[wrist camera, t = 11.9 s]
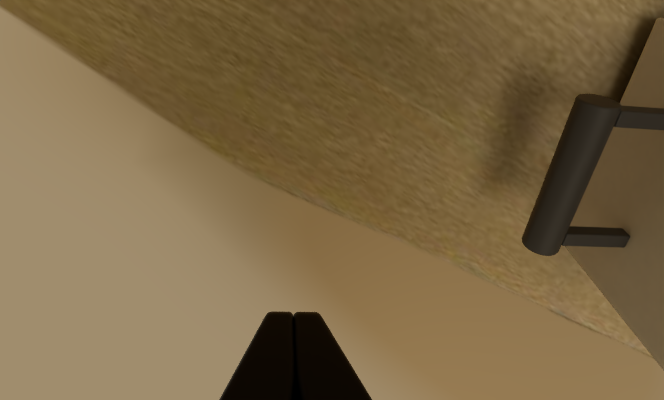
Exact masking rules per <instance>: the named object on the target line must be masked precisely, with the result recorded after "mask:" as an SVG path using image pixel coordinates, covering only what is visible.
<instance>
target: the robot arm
mask: <svg viewBox="0 0 664 400" xmlns="http://www.w3.org/2000/svg"><path fill="white" fill-rule="evenodd" d="M220 400H372V399H371V397H370V396H369V394H368V393H367V391H366V389H365V387H364V386H363V384H362V383H361V381H360V379H359V378H358V376H357V374H356V373H355V371H354V369H353V368H352V366H351V364H350V363H349V361H348V359H347V358H346V356H345V354H344V353H343V351H342V350H341V348H340V346H339V345H338V343H337V341H336V340H335V338H334V336H333V335H332V333H331V331H330V330H329V328H328V326H327V325H326V323H325V322H324V320H323V318H322V317H321V315H320V314H319V313H317V312H296V313H295V314H294V316H293V314H292V313H291V312H269V313H267V315H266V316H265V318H264V319H263V321H262V323H261V325H260V327H259V329H258V330H257V332H256V334H255V336H254V338H253V340H252V341H251V343H250V345H249V347H248V349H247V351H246V352H245V354H244V356H243V358H242V359H241V361H240V363H239V365H238V367H237V369H236V370H235V372H234V374H233V376H232V378H231V380H230V381H229V383H228V385H227V387H226V389H225V390H224V392H223V394H222V396H221V398H220Z"/></svg>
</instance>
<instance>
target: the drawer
mask: <svg viewBox="0 0 664 400" xmlns="http://www.w3.org/2000/svg"><path fill="white" fill-rule="evenodd" d="M522 242H523V244H524V245H525V247H527V248H528V249H529V250H531V251H532V252H535V253H537V254H540V255H545V256H551V255H555V254H556V253H557V252H558V251H559V249H560V247H561V245H562V246H565V247H566V248H567V249H568V251H569V252H570V253H571V254H572V256H573V257H574V258H575V259H576V261H577V262H578V263H579V264H580V266H581V267H582V268H583V269H584V271H585V272H586V273H587V275H588V276H589V277H590V278H591V280H592V281H593V282H594V283H595V285H596V286H597V287H598V288H599V290H600V291H601V292H602V293H603V295H604V296H605V297H606V298H607V300H608V301H609V302H610V303H611V305H612V306H613V307H614V308H615V310H616V311H617V312H618V314H619V315H620V316H621V317H622V319H623V320H624V321H625V322H626V324H627V325H628V326H629V327H630V329H631V330H632V331H633V332H634V334H635V335H636V336H637V337H638V339H639V340H640V341H641V342H642V344H643V345H644V346H645V347H646V349H647V350H648V351H649V353H650V354H651V355H652V356H653V358H654V359H655V360H656V361H657V363H658V364H659V365H660V366H661V367H662V369H663V370H664V18H657V19H656V22H655V24H654V26H653V29H652V31H651V33H650V35H649V38H648V40H647V42H646V45H645V47H644V49H643V51H642V54H641V56H640V58H639V60H638V63H637V65H636V67H635V70H634V72H633V74H632V76H631V79H630V81H629V83H628V86H627V88H626V90H625V92H624V95H623V97H622V99H621V102H620V104H619V103H618V102H616V101H615V100H612V99H610V98H607V97H604V96H600V95H595V94H580V95H578V96H577V97H576V99H575V102H574V104H573V107H572V109H571V112H570V115H569V117H568V120H567V122H566V125H565V128H564V130H563V133H562V135H561V138H560V141H559V143H558V146H557V148H556V151H555V154H554V156H553V159H552V161H551V164H550V167H549V169H548V172H547V174H546V177H545V180H544V182H543V185H542V187H541V190H540V193H539V195H538V198H537V200H536V203H535V206H534V208H533V211H532V213H531V216H530V219H529V221H528V224H527V226H526V229H525V232H524V234H523V237H522Z"/></svg>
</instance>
